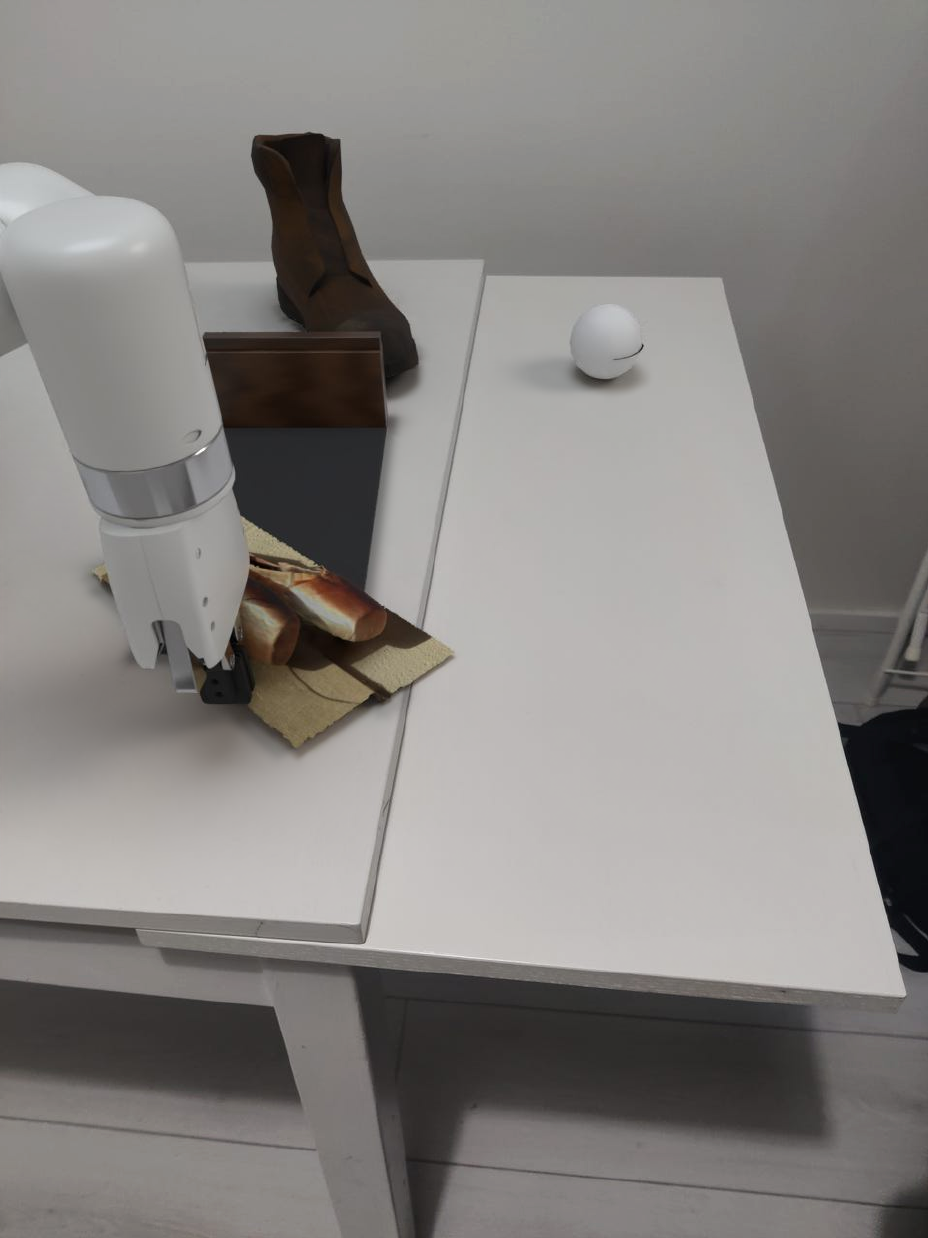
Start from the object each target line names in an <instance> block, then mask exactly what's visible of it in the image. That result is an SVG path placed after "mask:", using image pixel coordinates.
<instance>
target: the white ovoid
mask: <svg viewBox="0 0 928 1238" xmlns="http://www.w3.org/2000/svg"><path fill="white" fill-rule="evenodd" d="M647 322H648V320H646V321H645V322H644V323H642V324H641V325H640V323H639V321H638V319H637V318H636V316H635V315H633V313H632V312H631V311H630V310H629V309H627V308H625V307H623V306H621V305H617V304H615V303H614V304H613V303H603V304H598V305H594V306H592V307H590V308H589V309H587V310H586V311H584V312H583V313H582V314H580V316H579V317H578V318H577V320H576V322H575V323H574V324H573V325H572V330H571V334H570V338H569V350H570V354H571V356H572V359H573V361H574V363H575V365H576V366H577V367H578V369H580V370H581V371H582V373H584V374H585V375H587V376H589V377H590V378H594V379H598V380H599V379H600V380H610V379H614V378H615V379H616V378H618V377H620V376H621V375H624V374H625V373H627V372H628V371H629V370H630V369H632V367H633V365H634V364H635V363H636V361H638V359H639V357H640V354H641V351H642V350H643V349H644V347H645V345H644V343H643V331H642V329H641V327H642V326H643V325H645V324H646V323H647Z"/></svg>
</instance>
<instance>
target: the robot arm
mask: <svg viewBox="0 0 928 1238" xmlns="http://www.w3.org/2000/svg"><path fill="white" fill-rule="evenodd" d="M190 284H191V283H190V280H189V277H188V273H187V268H186V264H185V260H184V256H183V252H182V249H181V245H180V242H179V238H178V237H177V234H176V232H175V230H174V228H173V226H172V225H171V222H170V220H168V218H166V217H165V215H164V214H163V213H161V212H160V211H159V210H158V209H157V208H156V207H154V206H152V205H149V204H148V203H146V202H144V201H142V200H138V199H135V198H131V197H130V198H129V197H122V196H113V195H97V194H94V193H93V192H91V191H90V190H87V189H86V188H84V187H83V186H80V184H77V183H75V182H74V181H73V180H71V179H69V178H68V177H66V176H64V175H63V174H60V173H59V172H56V171H55V170H53V169H51V168H48V167H45V166H43V165H40V164H36V163H32V162H24V161H16V162H5V163H0V358H1V357H3V356H5V355H8V354H9V353H11V352H13V351H16V350H17V349H19V348H21V347H23V346H25V345H28V347H29V350H30V352H31V355H32V357H33V361H34V362H35V366H36V368H37V370H38V372H39V375H40V377H41V380H42V383H43V386H44V389H45V391H46V393H47V396H48V398H49V401H50V403H51V406H52V409H53V411H54V413H55V416H56V419H57V421H58V424H59V427H60V430H61V432H62V434H63V436H64V440H65V442H66V445H67V447H68V449H69V451H70V455H71V457H72V460H73V462H74V464H75V467H76V469H77V472H78V475H79V478H80V479H81V482H82V485H83V487H84V489H85V492H86V495H87V498H88V501H89V503H90V505H91V507H92V509H93V511H94V512H95V513H96V514H97V515H98V516H99V517H100V520H99V524H98V530H99V531H98V532H99V537H100V538H99V539H100V544H101V550H102V556H103V561H104V563H105V566H106V570H107V574H108V578H109V582H110V584H109V586H110V589H111V593H112V595H113V596H112V597H113V600H114V604H115V607H116V609H117V612H118V616H119V618H120V622H121V624H122V627H123V631H124V633H125V636H126V639H127V642H128V645H129V648H130V650H131V653H132V655H133V657H134V660H135V662H136V663H137V665H138V666H139V667H140V668H141V669H145V670H147V669H150V670H156V667H157V664H158V662H159V658H160V656H161V654H162V653H161V651H162V648H163V646H164V643H165V644H166V649H167V653H166V654H167V657H168V662H169V666H170V671H171V675H172V680H173V684H174V689H175V692H176V693H177V694H180V693H182V694H183V693H184V694H186V693H187V694H189V693H192V694H195V693H196V694H199V696H200V698H201V701H202V702H203V703H204V704H206V705H224V706H225V705H246V704H249V703H250V702H251V698H252V693H251V692H252V691H253V690H254V687H255V680H254V677H253V673H252V669H251V666H250V662H249V659H248V655H247V652H246V648H245V645H237V644H236V643H241V642H242V638H243V630H242V624H241V619H240V614H239V607H240V603H241V600H242V597H243V593H244V590H245V586H246V582H247V578H248V574H249V566H250V558H249V550H248V545H247V540H246V535H245V531H244V527H243V523H242V520H241V516H240V513H239V509H238V506H237V502H236V499H235V496H234V493H233V490H232V487H233V484H234V481H235V469H234V465H233V462H232V457H231V453H230V449H229V445H228V441H227V437H226V433H225V429H224V424H223V420H222V416H221V412H220V408H219V403H218V399H217V395H216V391H215V387H214V383H213V379H212V375H211V371H210V366H209V362H208V358H207V355H206V350H205V346H204V342H203V338H202V337H203V334H202V330H201V326H200V322H199V318H198V314H197V309H196V305H195V301H194V297H193V293H192V289H191V285H190Z"/></svg>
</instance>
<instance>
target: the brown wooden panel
mask: <svg viewBox="0 0 928 1238" xmlns="http://www.w3.org/2000/svg"><path fill="white" fill-rule="evenodd" d="M202 338H203V342H204V346H205V350H206V355H207V358H208V362H209V366H210V371H211V375H212V379H213V383H214V387H215V391H216V395H217V399H218V403H219V408H220V412H221V416H222V420H223V424H224V428H386V429H387V427H388V421H389V413H388V412H389V411H388V400H387V399H388V398H387V390H386V388H387V387H386V378H385V373H384V361H383V348H382V342H381V332H380V331H376V332H308V331H205V332H204V333H203V334H202Z"/></svg>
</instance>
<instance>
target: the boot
mask: <svg viewBox="0 0 928 1238" xmlns="http://www.w3.org/2000/svg"><path fill="white" fill-rule="evenodd" d="M341 141H342V140H341V139H340V138H332V137H330V136H326V135H324V133H321V132H311V131H307V132H303V133H281V134H257V135H254V137H253V139H252V143H251V149H250V158H251V163H252V167H253V172H254V174H255V176H256V177H257V179H258V181H259V182H260V184H261V186H262V187H263V189H264V192H265V195H266V199H267V203H268V207H269V211H270V217H271V222H272V223H271V224H272V225H271V227H272V228H271V229H272V230H271V243H270V248H271V249H270V250H271V255H272V263H273V266H274V270H275V274H276V278H275V281H276V282H275V283H276V292H277V300H278V303H279V307H280V309H281V310H282V312H284V314H285V316H286V317H288V318H290V320H293V321H294V322H297V323H299V324H300V325H301V326H302V327H303V328H304V329H305V330H306V332H376V331H380V332H381V342H382V348H383V361H384V373H385V379H386V378H390V377H393V376H396V375H398V374H401V373H404V372H407V371H409V370H411V369H413V368H416V367H417V366H418V365H419V361H420V358H419V354H418V347H417V344H416V342H415V339H414V338H413V336H412V330H411V324H410V322H409V320H408V318H407V317H406V316H405V315H404V314H403V312H402V311H401V310H400V309H399V308H398V307H397V306H396V304H394V302H392V301H391V299H390V298H389V296H388V295H387V294H386V292H385V290H383V288H382V287H381V285H380V284H379V282H378V281H377V279H376V277H375V275H374V274H373V272H372V270H371V268H370V266H369V264H368V261H366V259H365V256H364V254H363V252H362V249H361V246H360V243H359V240H358V236H357V233H356V231H355V227H354V224H353V221H352V220H351V217H350V215H349V212H348V209H347V208H346V205H345V202H344V197H343V191H342V190H343V189H342V188H343V187H342V186H343V185H342V184H343V164H342V163H343V162H342V145H341V143H342V142H341Z"/></svg>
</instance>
